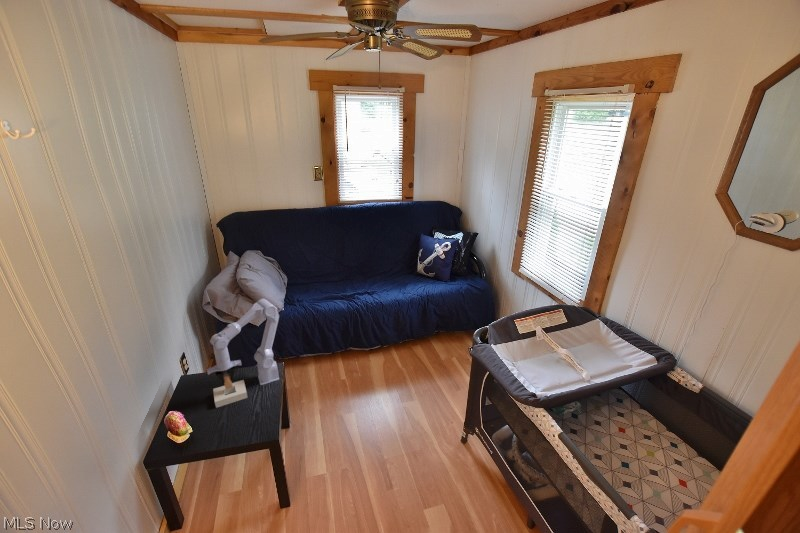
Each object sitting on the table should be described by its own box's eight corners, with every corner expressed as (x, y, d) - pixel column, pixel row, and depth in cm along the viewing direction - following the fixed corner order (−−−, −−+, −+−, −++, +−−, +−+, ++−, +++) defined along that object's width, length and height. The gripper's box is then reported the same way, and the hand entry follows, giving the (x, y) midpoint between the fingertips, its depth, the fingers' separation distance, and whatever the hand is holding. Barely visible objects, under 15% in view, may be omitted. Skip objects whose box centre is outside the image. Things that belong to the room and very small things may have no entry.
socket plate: (244, 385, 187) (243, 379, 185) (247, 397, 179) (246, 392, 177) (214, 394, 180) (213, 388, 179) (216, 407, 172) (214, 402, 171)
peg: (233, 383, 179) (229, 368, 175) (231, 388, 176) (228, 373, 172) (225, 384, 178) (222, 369, 175) (224, 389, 175) (221, 374, 172)
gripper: (238, 348, 177) (242, 371, 182) (204, 357, 170) (210, 380, 176) (240, 356, 171) (244, 379, 177) (205, 366, 165) (211, 389, 170)
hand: (227, 380), depth 176 cm, fingers closed on peg, 3 cm apart
